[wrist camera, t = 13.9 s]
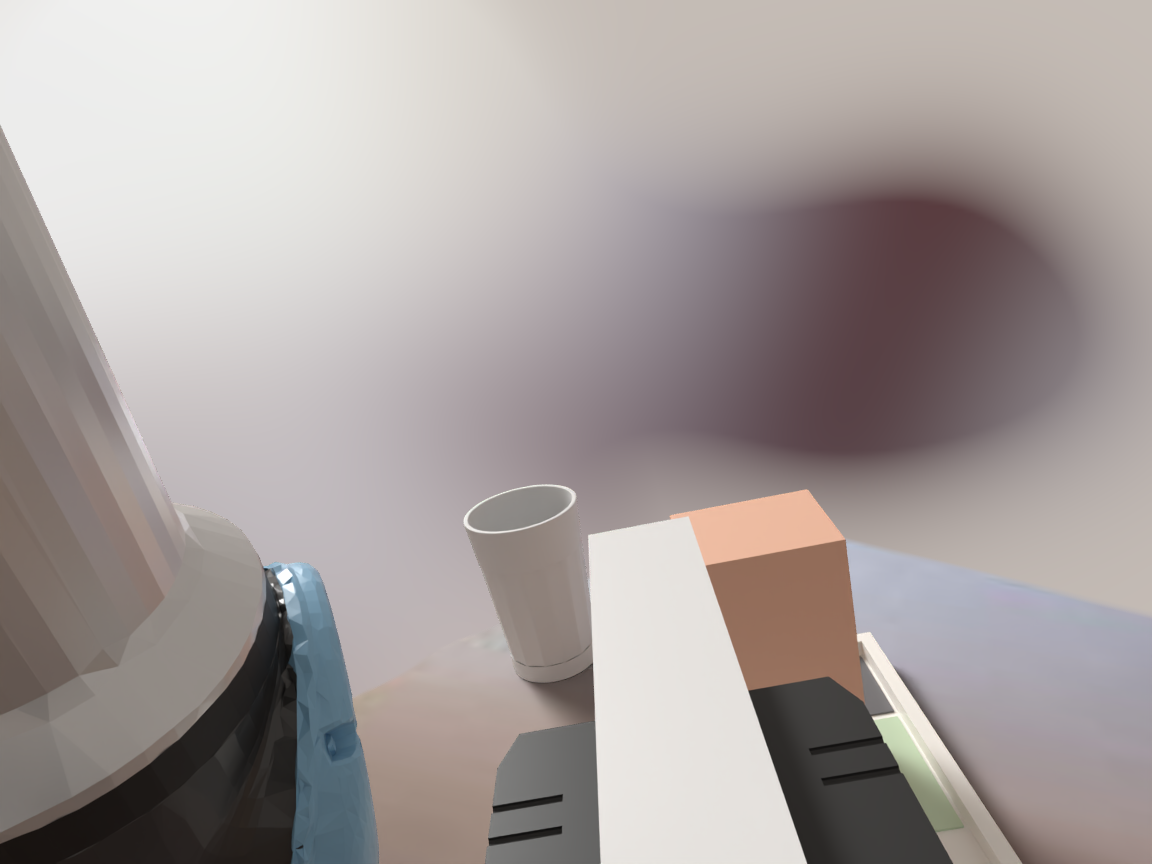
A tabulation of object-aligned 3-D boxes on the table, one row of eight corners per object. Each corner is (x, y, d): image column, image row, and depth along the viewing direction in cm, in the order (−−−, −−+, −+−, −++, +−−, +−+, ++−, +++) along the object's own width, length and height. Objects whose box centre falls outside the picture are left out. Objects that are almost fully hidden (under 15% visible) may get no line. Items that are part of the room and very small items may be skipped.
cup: (482, 664, 61) (442, 519, 57) (565, 615, 65) (532, 477, 62) (544, 704, 54) (504, 543, 51) (631, 647, 59) (599, 495, 55)
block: (731, 825, 39) (684, 569, 35) (712, 744, 45) (669, 515, 41) (876, 801, 39) (845, 539, 35) (837, 722, 45) (807, 489, 41)
